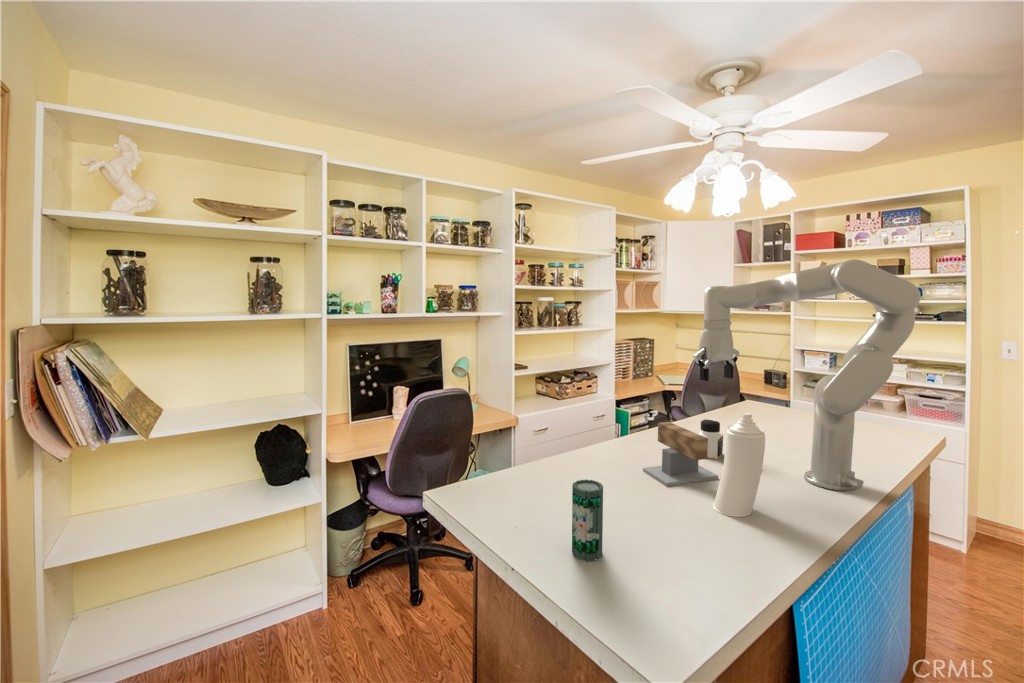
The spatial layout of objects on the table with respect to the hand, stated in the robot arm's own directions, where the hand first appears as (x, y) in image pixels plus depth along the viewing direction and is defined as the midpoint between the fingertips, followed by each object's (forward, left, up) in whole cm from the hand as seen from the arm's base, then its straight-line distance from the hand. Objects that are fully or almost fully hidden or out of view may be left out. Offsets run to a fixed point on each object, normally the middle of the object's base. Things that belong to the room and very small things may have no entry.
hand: (716, 379), depth 144 cm
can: (-34, +62, -28) cm, 76 cm away
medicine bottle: (+8, -5, -28) cm, 30 cm away
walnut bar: (-4, +16, -20) cm, 26 cm away
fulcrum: (-4, +16, -28) cm, 32 cm away
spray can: (-27, +16, -28) cm, 42 cm away
